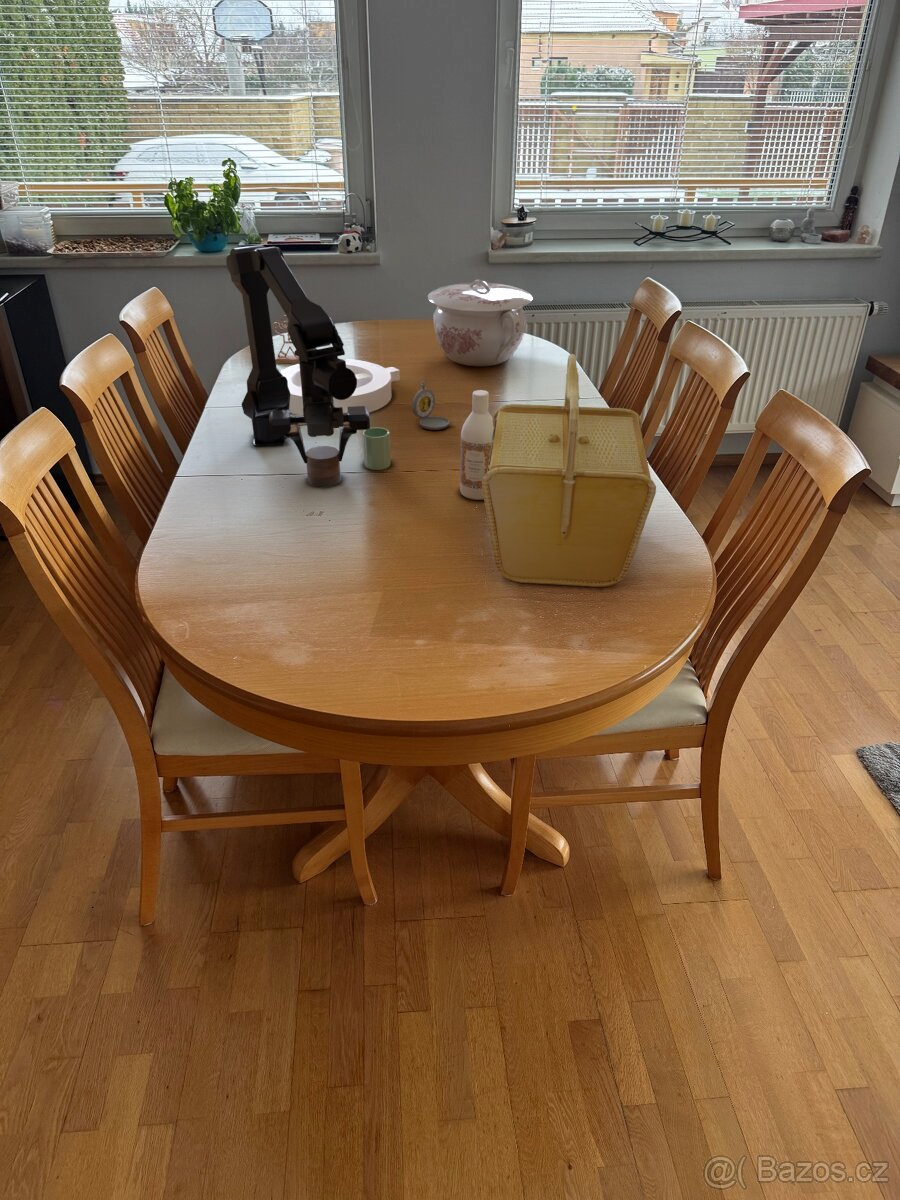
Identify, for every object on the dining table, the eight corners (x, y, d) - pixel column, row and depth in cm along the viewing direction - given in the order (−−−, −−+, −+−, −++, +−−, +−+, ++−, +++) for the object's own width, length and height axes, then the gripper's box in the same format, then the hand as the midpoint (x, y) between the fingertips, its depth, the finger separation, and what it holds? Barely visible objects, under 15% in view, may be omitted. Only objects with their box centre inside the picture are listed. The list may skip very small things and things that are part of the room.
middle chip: (307, 479, 169) (306, 469, 168) (307, 465, 175) (306, 456, 174) (341, 477, 170) (340, 467, 169) (339, 463, 176) (338, 454, 174)
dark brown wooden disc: (306, 469, 168) (305, 460, 167) (306, 456, 174) (305, 446, 172) (340, 467, 169) (339, 458, 168) (338, 454, 174) (338, 445, 173)
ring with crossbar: (402, 381, 222) (402, 362, 220) (375, 421, 199) (374, 401, 197) (296, 374, 226) (295, 356, 224) (258, 413, 203) (255, 393, 201)
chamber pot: (436, 341, 250) (435, 265, 239) (532, 346, 247) (536, 269, 236) (419, 373, 227) (418, 291, 216) (525, 379, 224) (530, 296, 213)
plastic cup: (365, 470, 177) (363, 438, 174) (363, 459, 182) (361, 428, 178) (391, 469, 178) (390, 436, 174) (389, 458, 183) (387, 426, 179)
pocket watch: (446, 432, 194) (446, 388, 189) (409, 429, 196) (408, 385, 190) (453, 419, 201) (453, 376, 196) (417, 416, 202) (416, 373, 197)
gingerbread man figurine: (309, 359, 237) (305, 314, 230) (305, 363, 234) (302, 318, 227) (276, 358, 238) (272, 313, 231) (273, 362, 234) (268, 317, 228)
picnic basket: (490, 505, 165) (495, 346, 148) (629, 512, 162) (650, 351, 146) (478, 588, 140) (482, 408, 124) (642, 597, 138) (668, 416, 122)
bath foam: (455, 498, 167) (456, 396, 156) (465, 483, 173) (467, 384, 162) (490, 503, 165) (494, 401, 155) (500, 487, 171) (504, 388, 160)
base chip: (308, 488, 170) (307, 479, 169) (307, 474, 176) (307, 465, 175) (341, 486, 171) (341, 477, 170) (340, 472, 177) (339, 463, 176)
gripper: (264, 401, 155) (274, 482, 163) (370, 396, 157) (374, 476, 166) (265, 381, 164) (274, 458, 173) (365, 376, 167) (369, 452, 175)
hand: (323, 461), depth 171 cm, fingers closed on dark brown wooden disc, 6 cm apart
